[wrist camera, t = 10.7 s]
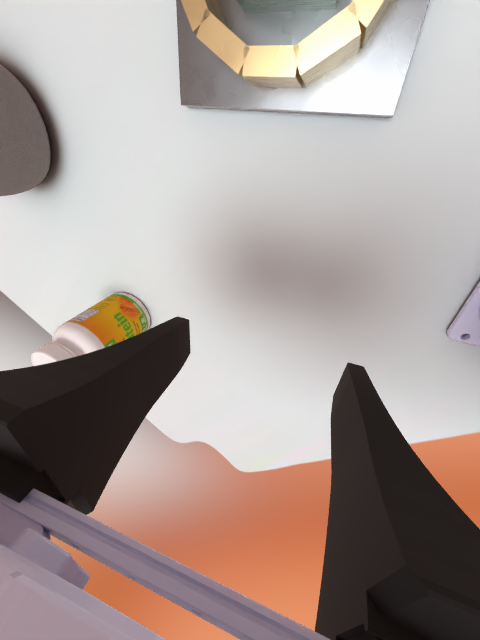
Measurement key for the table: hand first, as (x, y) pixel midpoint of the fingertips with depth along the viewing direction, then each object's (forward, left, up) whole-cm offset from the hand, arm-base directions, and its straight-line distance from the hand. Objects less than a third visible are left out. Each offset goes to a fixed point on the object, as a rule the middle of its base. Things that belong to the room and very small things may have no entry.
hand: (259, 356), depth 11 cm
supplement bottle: (+17, +8, -11) cm, 22 cm away
